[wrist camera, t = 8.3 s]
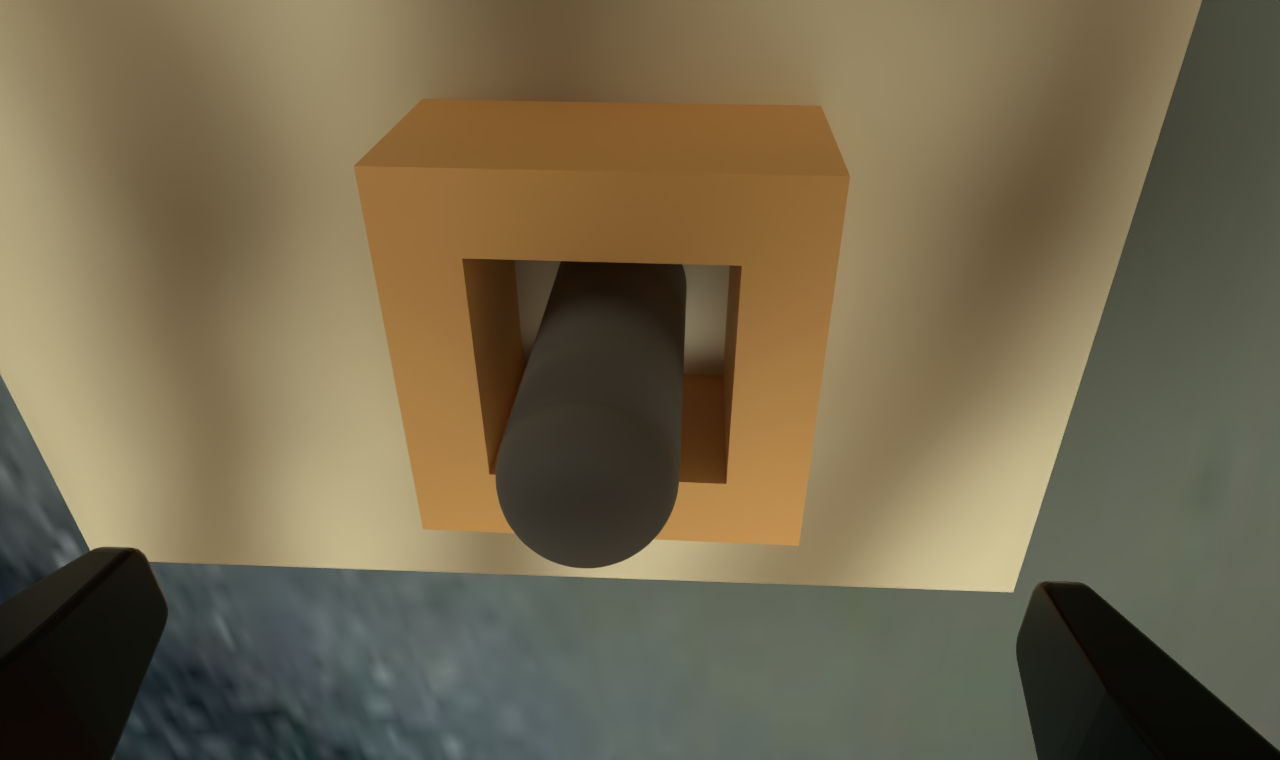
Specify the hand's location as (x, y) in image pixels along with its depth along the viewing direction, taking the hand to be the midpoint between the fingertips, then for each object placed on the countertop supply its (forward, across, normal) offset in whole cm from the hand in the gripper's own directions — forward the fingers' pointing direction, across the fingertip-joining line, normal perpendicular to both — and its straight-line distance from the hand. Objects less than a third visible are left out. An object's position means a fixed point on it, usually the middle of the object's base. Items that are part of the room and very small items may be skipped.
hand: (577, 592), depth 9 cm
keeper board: (+8, +2, 0) cm, 9 cm away
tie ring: (+7, 0, 0) cm, 7 cm away
